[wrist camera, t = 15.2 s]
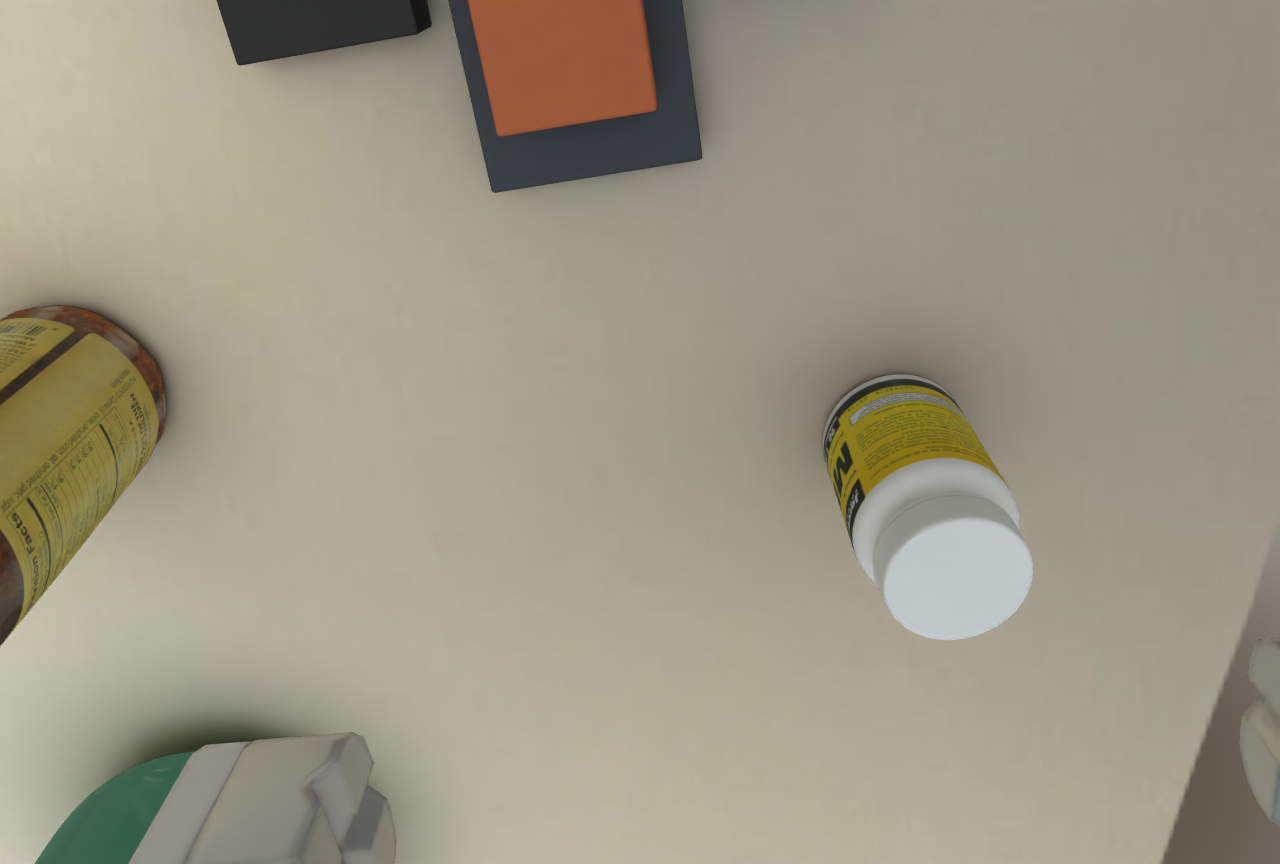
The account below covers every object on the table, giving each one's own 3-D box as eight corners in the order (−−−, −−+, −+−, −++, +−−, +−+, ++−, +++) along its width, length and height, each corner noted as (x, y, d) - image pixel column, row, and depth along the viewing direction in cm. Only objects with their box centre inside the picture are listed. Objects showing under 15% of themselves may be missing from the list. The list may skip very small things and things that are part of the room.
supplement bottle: (803, 397, 34) (847, 535, 27) (943, 350, 33) (1030, 479, 26) (842, 514, 36) (894, 672, 29) (976, 472, 35) (1065, 624, 28)
